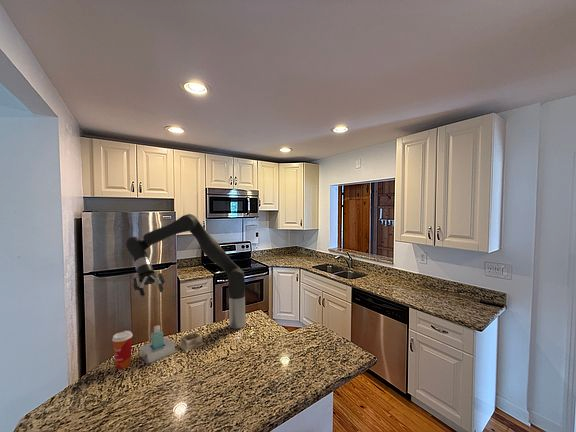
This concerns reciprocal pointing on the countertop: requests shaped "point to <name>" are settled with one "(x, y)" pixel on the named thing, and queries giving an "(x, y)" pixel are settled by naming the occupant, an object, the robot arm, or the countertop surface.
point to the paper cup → (122, 349)
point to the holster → (190, 341)
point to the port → (156, 351)
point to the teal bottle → (157, 338)
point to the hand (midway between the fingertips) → (152, 293)
